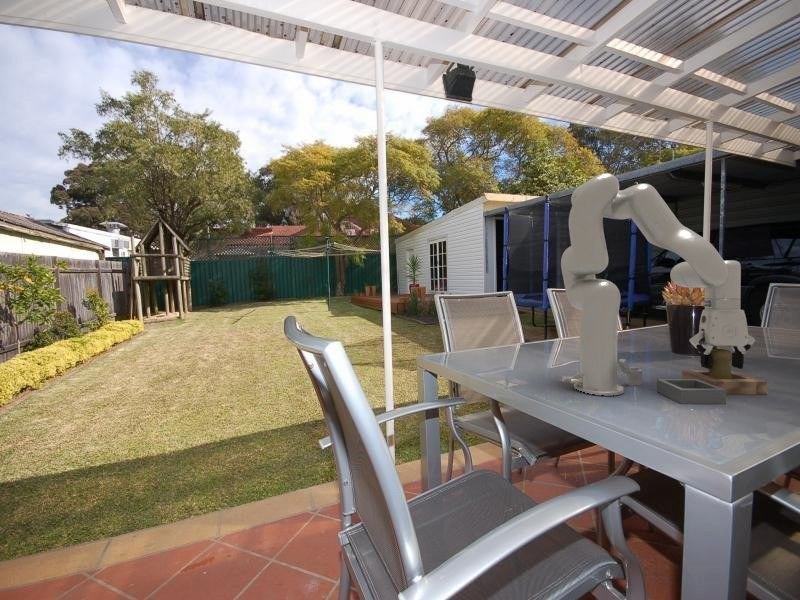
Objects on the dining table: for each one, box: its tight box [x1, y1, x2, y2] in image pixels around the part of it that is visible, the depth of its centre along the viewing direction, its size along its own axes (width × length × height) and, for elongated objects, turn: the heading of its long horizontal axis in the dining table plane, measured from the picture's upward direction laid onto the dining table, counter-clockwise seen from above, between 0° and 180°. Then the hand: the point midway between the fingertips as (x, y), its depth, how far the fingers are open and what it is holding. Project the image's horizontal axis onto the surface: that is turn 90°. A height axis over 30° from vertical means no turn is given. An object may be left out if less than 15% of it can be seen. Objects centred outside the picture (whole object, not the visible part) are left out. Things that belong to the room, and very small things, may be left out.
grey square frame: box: [656, 378, 727, 405], centre depth 99 cm, size 10×10×4 cm
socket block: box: [681, 369, 768, 396], centre depth 106 cm, size 13×13×4 cm
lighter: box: [617, 358, 643, 387], centre depth 111 cm, size 7×2×8 cm, turn 103°
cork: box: [708, 348, 732, 379], centre depth 106 cm, size 6×6×11 cm
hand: (721, 367), depth 106 cm, fingers open, 7 cm apart
